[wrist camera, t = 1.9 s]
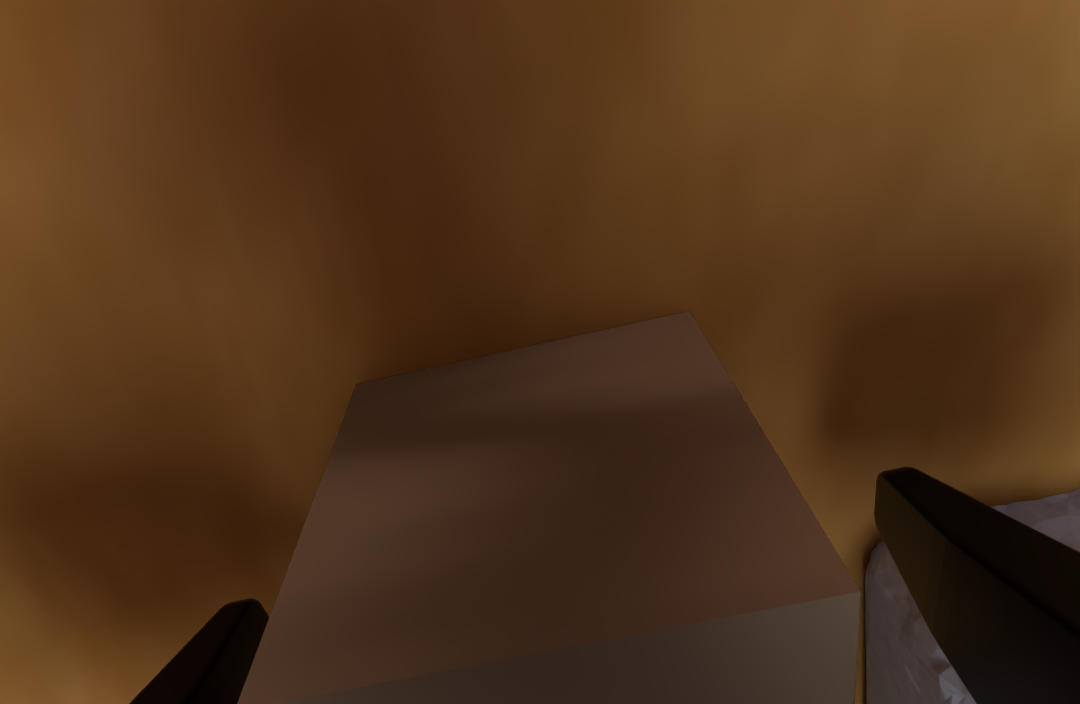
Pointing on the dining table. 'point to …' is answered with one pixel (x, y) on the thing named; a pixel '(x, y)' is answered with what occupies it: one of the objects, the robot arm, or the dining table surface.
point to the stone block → (903, 636)
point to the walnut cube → (560, 541)
